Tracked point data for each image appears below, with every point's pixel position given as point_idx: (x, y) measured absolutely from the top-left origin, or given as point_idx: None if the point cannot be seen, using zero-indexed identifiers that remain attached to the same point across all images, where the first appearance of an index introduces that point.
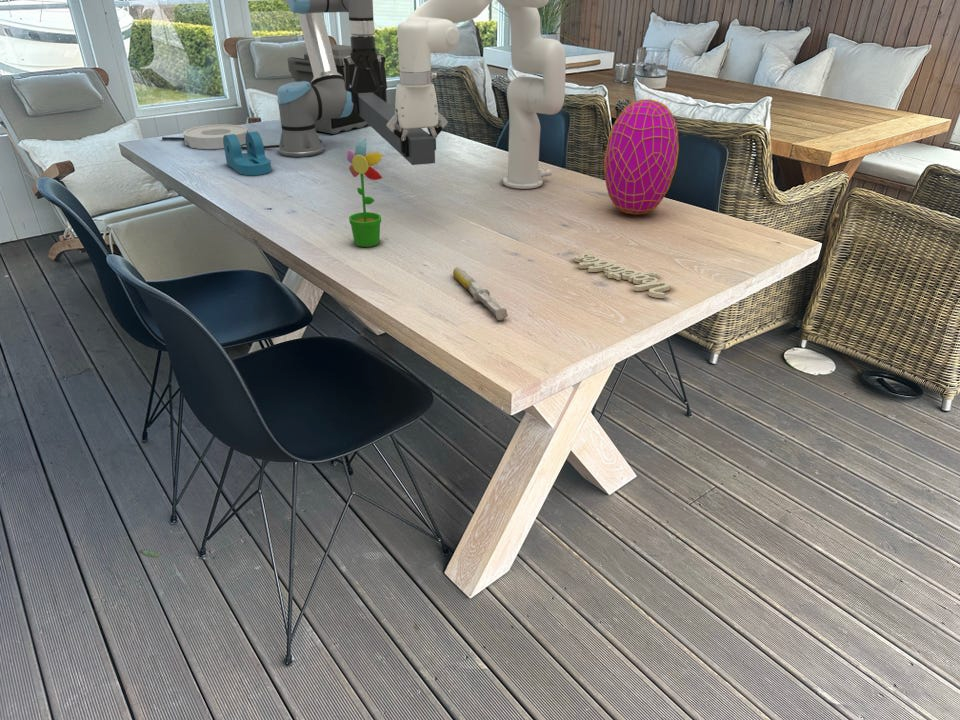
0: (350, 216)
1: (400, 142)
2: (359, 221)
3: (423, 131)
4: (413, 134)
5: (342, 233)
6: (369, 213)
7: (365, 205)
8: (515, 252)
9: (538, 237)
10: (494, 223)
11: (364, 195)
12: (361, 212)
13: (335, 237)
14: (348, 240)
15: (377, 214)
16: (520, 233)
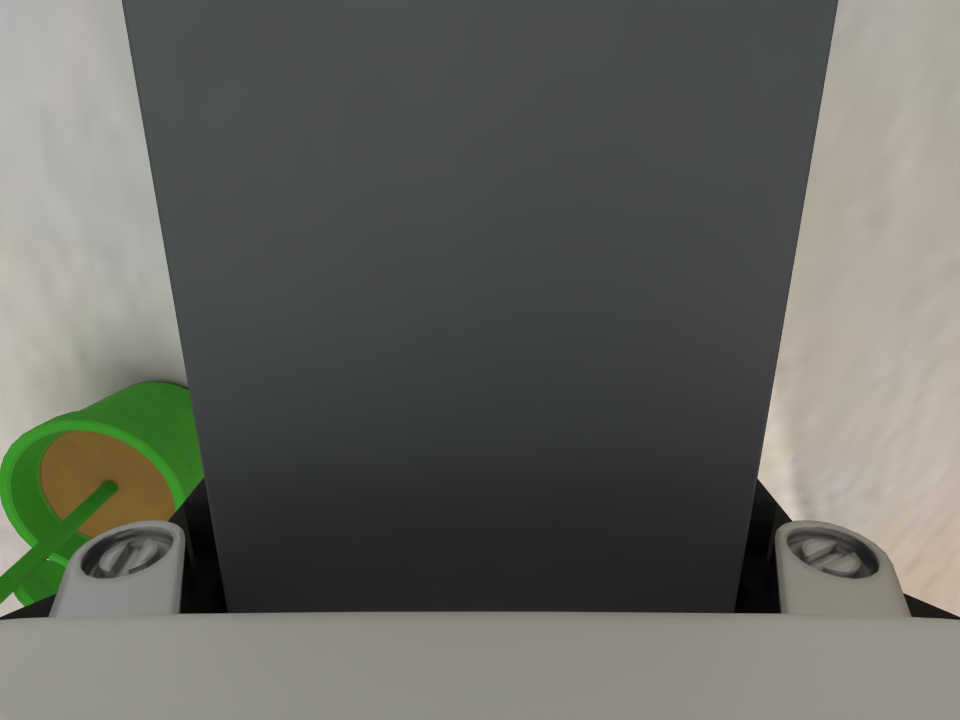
0: (5, 471)
1: (169, 521)
2: (76, 467)
3: (728, 360)
4: (403, 586)
5: (41, 260)
6: (121, 438)
7: (55, 549)
8: None
9: (918, 569)
10: (848, 354)
11: (5, 598)
12: (69, 420)
13: (8, 308)
14: (78, 367)
15: (166, 479)
16: (879, 509)
